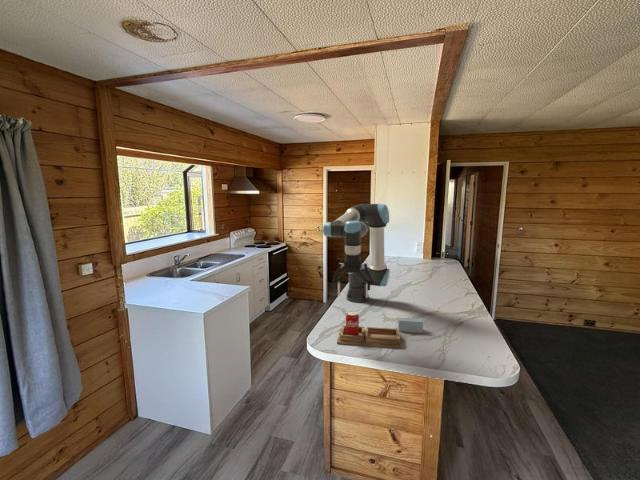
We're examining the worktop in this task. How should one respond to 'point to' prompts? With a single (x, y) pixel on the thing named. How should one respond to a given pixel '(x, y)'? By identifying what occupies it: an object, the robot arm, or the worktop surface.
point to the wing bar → (410, 325)
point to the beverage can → (352, 323)
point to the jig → (371, 337)
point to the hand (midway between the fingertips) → (352, 296)
